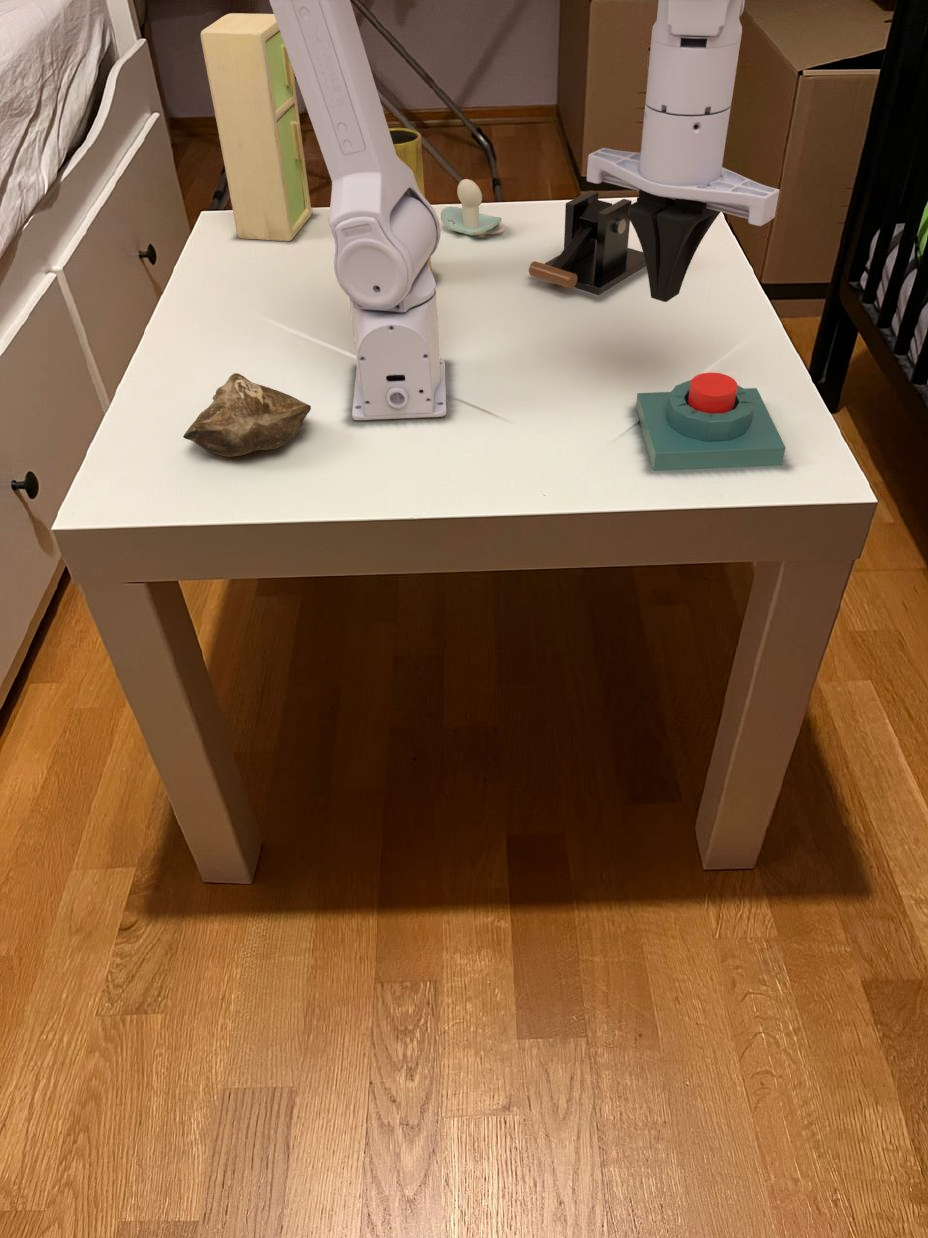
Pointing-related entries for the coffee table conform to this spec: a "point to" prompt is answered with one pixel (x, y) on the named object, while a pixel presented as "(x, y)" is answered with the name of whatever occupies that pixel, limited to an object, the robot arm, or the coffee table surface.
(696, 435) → the button block
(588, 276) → the bracket
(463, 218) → the pacifier
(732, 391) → the button
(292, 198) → the toy refrigerator
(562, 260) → the lever
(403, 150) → the vase
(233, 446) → the fossilized seashell
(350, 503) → the coffee table surface
